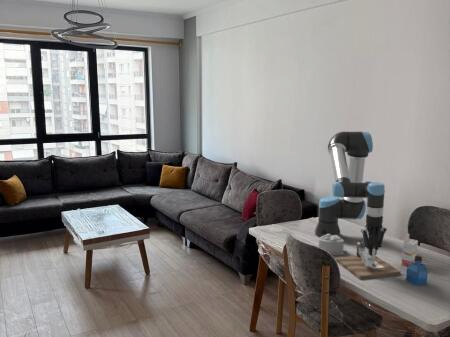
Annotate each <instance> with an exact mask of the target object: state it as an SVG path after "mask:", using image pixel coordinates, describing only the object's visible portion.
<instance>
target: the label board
mask: <svg viewBox="0 0 450 337" xmlns="http://www.w3.org/2000/svg"><path fill="white" fill-rule="evenodd" d="M335 259H336V261H337V262H336V261H335V262H336V263H337V264H339V265H340V266H341V267H343V268H344V269H345V270H347V271H348V272H349V273H350V274H352V275H353V276H354V277H355V278H357V279H358V280H365V279H375V278H382V277H383V278H384V277H391V276H399V275H401V272H402V271H400V270H399V269H398V268H395V267H394V266H393V265H391V264H390V263H388V262H387V261H385V260H383V259H381V257H378V256H377V255H375V262H374V263H372V267H368V266H365V264H364V262H363V261H362V259H361V257H359V256H357V254H355V255H348V256H347V255H346V256H338V257H334V260H335Z"/></svg>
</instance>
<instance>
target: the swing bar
mask: <svg viewBox="0 0 450 337" xmlns="http://www.w3.org/2000/svg"><path fill="white" fill-rule="evenodd" d="M356 255H357V256H359V257H361V259H362V261H363V262H364V264H365V266H368V267H372V259H371V257H370V256H369V254H368V251H367V248H366V247H365V244H364V240H363V241H362V240H361V241H358V240H357V242H356Z"/></svg>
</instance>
